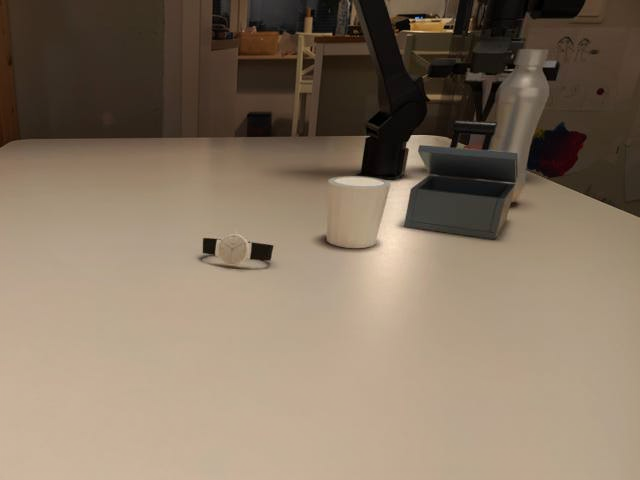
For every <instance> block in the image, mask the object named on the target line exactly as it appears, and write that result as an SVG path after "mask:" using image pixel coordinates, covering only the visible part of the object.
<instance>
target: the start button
mask: <svg viewBox="0 0 640 480" xmlns="http://www.w3.org/2000/svg"><path fill="white" fill-rule="evenodd" d="M482 146H483V145H477V144H470V145H469V144H467V145H464V146H463V148H464V149H477V150H482Z"/></svg>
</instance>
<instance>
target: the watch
mask: <svg viewBox="0 0 640 480" xmlns="http://www.w3.org/2000/svg"><path fill="white" fill-rule="evenodd" d="M237 233H238V232H237V231H236V230H234V231H233V233H230V234H227V235H225V236H224V237H222V238H212V237H202V254H207V255H212V256H215V257H218V258H219V259H220V260H221V261H222V262H223V263H224V264H226V265H229V266H237V265H238V266H239V265H241V264H242V263H243V262H245V261H246V260H247V261H250V260H254V261H255V260H256V261H265V262H266V261H269V262H270V261H272V255H273V250H274V244H269V243H260V242H251V241H247V239H246V238H245V237H244V236H242V235H241V234H237Z"/></svg>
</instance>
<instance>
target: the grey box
mask: <svg viewBox="0 0 640 480" xmlns="http://www.w3.org/2000/svg"><path fill="white" fill-rule="evenodd" d="M515 185H516V184H513V183H503V182H493V181H483V180H474V179H464V178H454V177H444V176H439V175H431V174H428V175H427V176H426V177H424V178H423V179H422V180H421V181H419V182H418V183H417V184H415V185H413V186H412V187H411V188H410V191H409V195H408V201H407V206H406V207H407V208H406V212H405V218H404V219H405V220H404V223H403V227H404V228H410V229H411V228H412V229H418V230H425V231H426V230H427V231H432V232H433V231H434V232H440V233H446V234H455V235H462V236H467V237H474V238H482V239H488V240H496V238H497V237H498V235H499V233H500V232H501V230H502V229H503V227H504V225H505V223H506V222H507V219H508V216H509V211H510V207H511V205H512V202H511V200H512V196H513V193H514V189H515Z"/></svg>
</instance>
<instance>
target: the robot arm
mask: <svg viewBox="0 0 640 480" xmlns="http://www.w3.org/2000/svg"><path fill="white" fill-rule="evenodd" d="M586 1H587V0H487V3H486V7H485V11H484V12H485V13H484V18H483V22H482V26H481V31H480V36H479V38H478V40H477V42H476V43H475V46H474V47H473V49H472V51H471V56H470V62H462V58H453V57H451V58H449V57H448V58H447V57H445V58H444V57H443V58H440V57H439V58H434V59H432V60H431V61H430V63H429V65H428V69H427V75H426V78H430V79H431V78H434V79H439V78H440V79H447V78H449V77H455V76H456V75H464V77H465V79H464V80H463V82H462V84H463V85H465V86H466V85H468V86H469V88H470V91H471V94H472V98H473V104H474V111H475V121H485V122H487V120H488V119H489V116H490V115H491V113H492V111H493V110H494V105H495V97H496V92H497V90H498V88H499V86H500V85H501V84H502V82H503V81H504V80H505V79H506V78H507V77H508V76H509V74H510V73H511V72H512V71H513V70H514V69H515V66H516V65H515V64H513V63H514V61H515V58H516V54H517V51H518V49H526V41H527V38H526V37H522V33H523V32H522V31H523V29H524V23H525V19H526V16H527V14H529V17H530V19H532V20H535V21H537V20H538V21H541V20H544V21H545V20H547V21H549V20H551V21H552V20H553V21H556V20H558V21H559V20H560V21H561V20H568V21H569V20H573V19H575V18H576V17H577V16H578V15H579V14H580V13H581V11H582V10H583V8H584V6H585V4H586ZM352 3H353V6H354V9H355V13H356V16H357V19H358V21H359V25H360V28H361V31H362V35H363V36H364V37H363V38H364V40H365V44H366V46H367V47H366V48H367V49H368V53H369V55H370V59H371V62H372V65H373V69H374V71H375V75H376V77H377V102H378V110H377V112H375V113H374V114H373V115H372V116H370V117H369V119H368V120H367V121H365V122H364V129H365V134H366V136H368V137H365V140H364V147H363V153H362V160H361V167H360V171H359V172H357V174H356V176H363V177H372V178H377V179H382V180H388V181H389V180H390V181H395V180H397V179H399V178H401V177H402V176H403V175H404V174H405V173H406V169H407V163H408V157H409V152H410V149H409V148H408V147H407V143H408V142H409V141H410V139H411V137H412V136H413V133H414V132H415V130H416V129H417V128H419V127H420V126H421V124H422V123H424V120H425V119H426V117H427V116H428V105H427V103H429V102H431V99H430V98H429V97H428V96H427V93H426V91H425V82H424V78H423V76H419V75H414V74H409V73H408V71H407V69H406V67H405V63H404V61H403V56H402V53H401V50H400V47H399V44H398V40H397V37H396V34H395V30H394V27H393V23H392V21H391V17H390V14H389V11H388V8H387V7H388V6H387V4H386V0H352ZM546 61H547V62H546V65H543V68H542V71H543V73H544V75H545V77H546V79H547V82H556V81H558V80H559V78H560V74H561V71H562V66H563V64H562V62H561V60H560V59H546ZM487 76H495V78H496V80H494V81H492V82H491V86H490V91H489V94H488V97H487V91H488V83H489V82H488V81H489V80H488V79H486V78H487ZM486 97H487V99H486Z"/></svg>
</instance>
